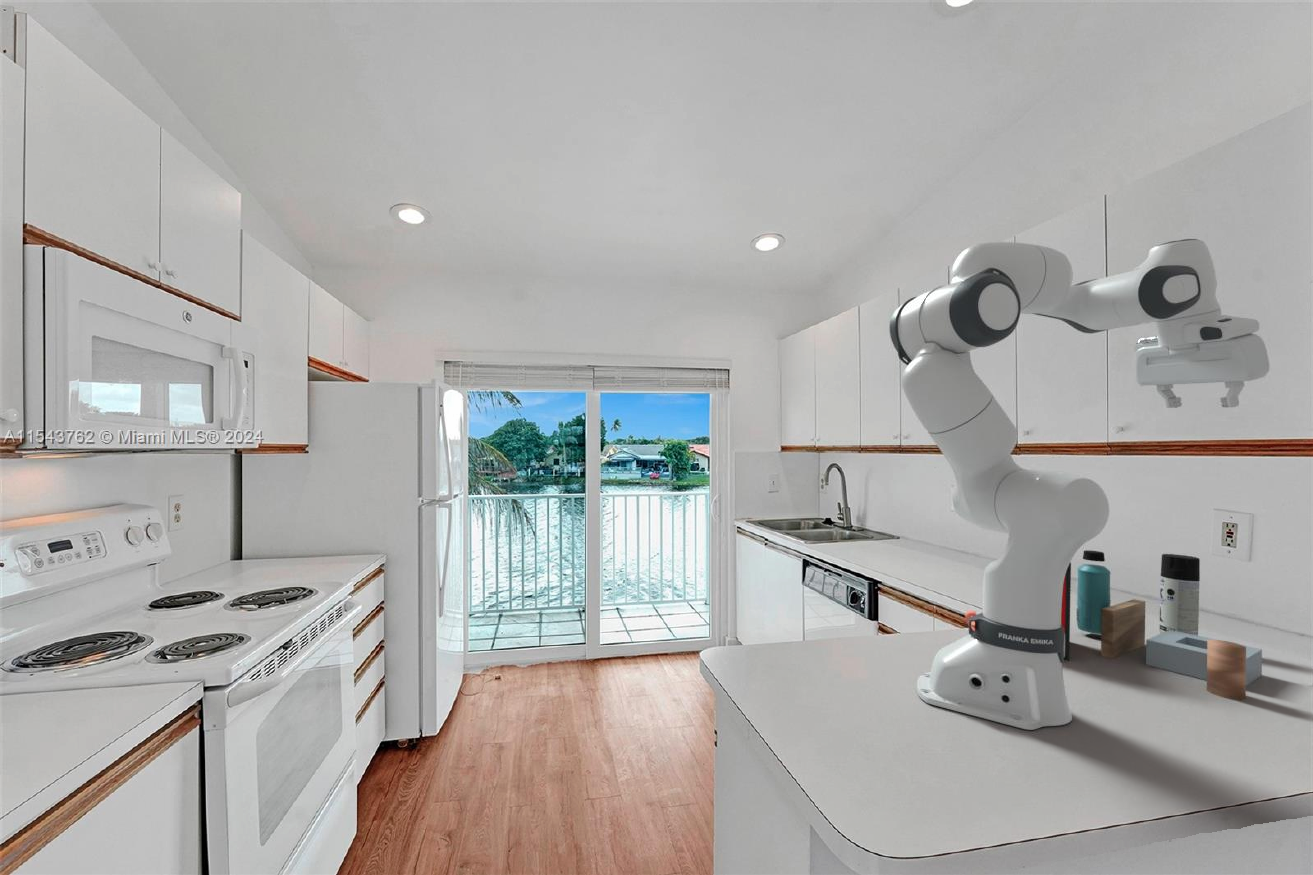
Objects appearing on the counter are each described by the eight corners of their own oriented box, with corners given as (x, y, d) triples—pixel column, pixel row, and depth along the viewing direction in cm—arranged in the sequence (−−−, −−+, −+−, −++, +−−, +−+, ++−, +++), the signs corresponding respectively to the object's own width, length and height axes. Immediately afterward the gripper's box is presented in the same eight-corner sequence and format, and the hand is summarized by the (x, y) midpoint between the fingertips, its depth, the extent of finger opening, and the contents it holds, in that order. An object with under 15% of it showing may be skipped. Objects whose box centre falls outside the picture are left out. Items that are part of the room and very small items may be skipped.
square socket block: (1261, 675, 116) (1262, 649, 116) (1241, 689, 108) (1241, 661, 108) (1170, 653, 127) (1170, 630, 127) (1146, 664, 120) (1146, 639, 120)
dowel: (1213, 697, 104) (1213, 645, 105) (1202, 687, 109) (1202, 638, 109) (1251, 703, 102) (1251, 650, 102) (1238, 693, 107) (1239, 642, 107)
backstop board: (1144, 646, 133) (1145, 601, 133) (1112, 659, 123) (1113, 611, 123) (1133, 643, 134) (1134, 599, 134) (1100, 656, 124) (1101, 608, 124)
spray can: (1161, 637, 140) (1162, 552, 140) (1200, 645, 135) (1201, 556, 135) (1157, 642, 135) (1158, 555, 136) (1196, 650, 130) (1198, 559, 131)
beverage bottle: (1116, 642, 135) (1118, 554, 135) (1084, 639, 136) (1085, 552, 136) (1101, 633, 141) (1102, 549, 142) (1070, 631, 142) (1071, 547, 143)
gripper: (1120, 342, 116) (1131, 411, 117) (1239, 327, 95) (1251, 410, 97) (1146, 335, 117) (1157, 403, 118) (1270, 319, 96) (1282, 402, 98)
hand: (1201, 407), depth 107 cm, fingers open, 8 cm apart
